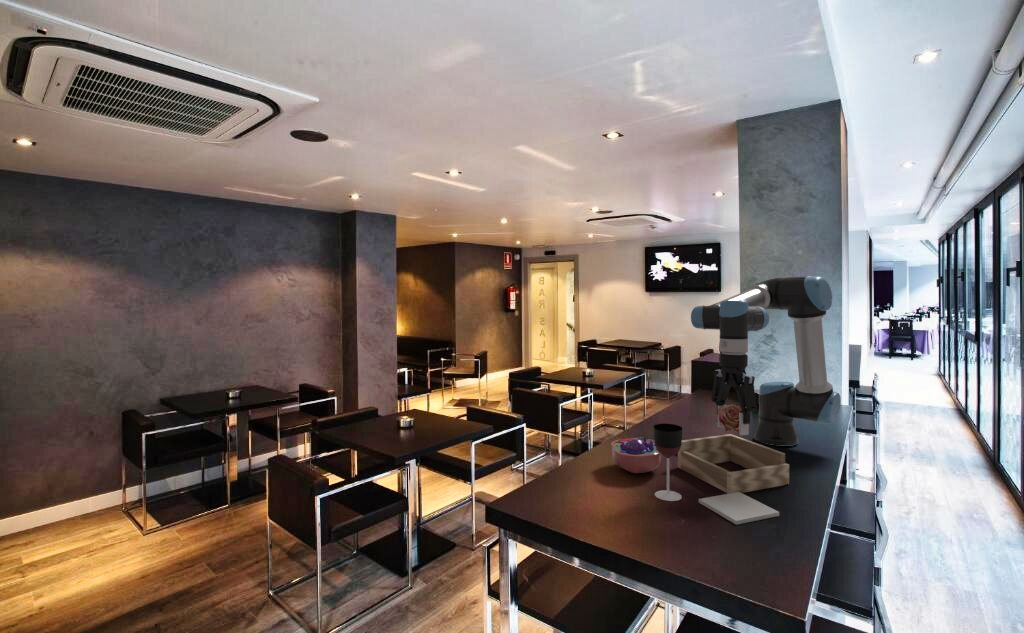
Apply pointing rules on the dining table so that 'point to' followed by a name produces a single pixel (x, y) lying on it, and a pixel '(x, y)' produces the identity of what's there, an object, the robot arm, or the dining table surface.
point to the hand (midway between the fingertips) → (732, 430)
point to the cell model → (636, 454)
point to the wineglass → (668, 452)
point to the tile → (738, 508)
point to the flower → (729, 417)
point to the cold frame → (758, 459)
